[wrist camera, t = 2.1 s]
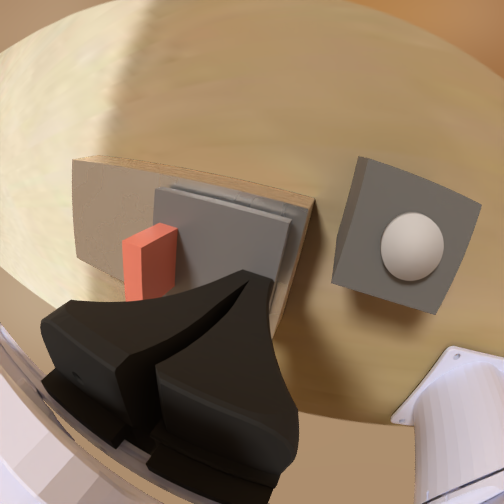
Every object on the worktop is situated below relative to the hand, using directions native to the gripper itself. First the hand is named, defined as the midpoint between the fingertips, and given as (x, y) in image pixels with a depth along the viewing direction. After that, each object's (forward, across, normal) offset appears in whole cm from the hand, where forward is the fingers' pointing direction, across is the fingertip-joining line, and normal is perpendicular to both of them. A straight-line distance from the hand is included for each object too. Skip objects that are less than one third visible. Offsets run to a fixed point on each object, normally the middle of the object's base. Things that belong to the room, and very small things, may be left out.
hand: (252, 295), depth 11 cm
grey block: (+4, -5, -4) cm, 7 cm away
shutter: (+1, +2, 0) cm, 3 cm away
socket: (+4, +6, 0) cm, 7 cm away
